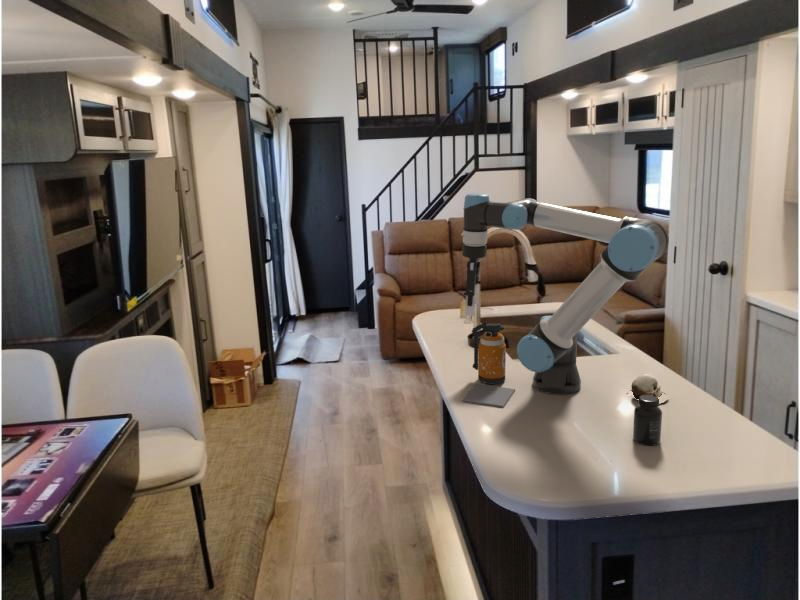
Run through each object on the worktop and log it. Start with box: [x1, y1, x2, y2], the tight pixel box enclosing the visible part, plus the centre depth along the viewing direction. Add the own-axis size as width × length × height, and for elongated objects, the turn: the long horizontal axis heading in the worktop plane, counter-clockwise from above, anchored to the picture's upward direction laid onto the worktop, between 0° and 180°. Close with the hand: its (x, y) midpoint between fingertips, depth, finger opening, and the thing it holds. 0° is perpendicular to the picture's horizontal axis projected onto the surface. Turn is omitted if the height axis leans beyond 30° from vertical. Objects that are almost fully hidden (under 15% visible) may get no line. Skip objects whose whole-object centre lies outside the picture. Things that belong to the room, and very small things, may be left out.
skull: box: [630, 373, 666, 400], centre depth 193 cm, size 12×10×10 cm
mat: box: [462, 383, 516, 408], centre depth 198 cm, size 13×14×1 cm
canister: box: [471, 321, 507, 385], centre depth 209 cm, size 9×11×20 cm
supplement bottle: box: [632, 395, 663, 446], centre depth 165 cm, size 7×7×12 cm
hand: (471, 309), depth 202 cm, fingers open, 13 cm apart
